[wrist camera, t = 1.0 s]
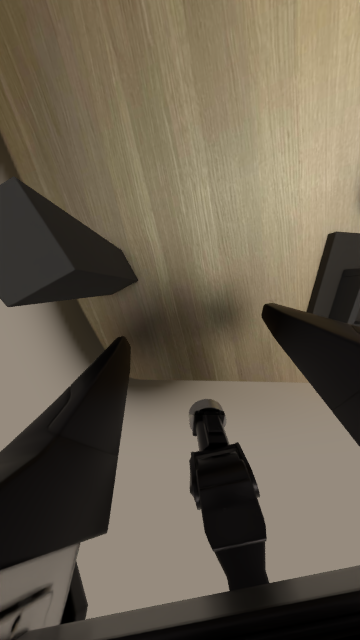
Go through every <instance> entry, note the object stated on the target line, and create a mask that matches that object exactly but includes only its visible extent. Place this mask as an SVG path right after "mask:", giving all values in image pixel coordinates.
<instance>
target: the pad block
mask: <svg viewBox="0 0 360 640" xmlns="http://www.w3.org/2000/svg"><path fill="white" fill-rule="evenodd" d="M136 281H138V279H137V277H136V276H135V274H134V272H133V270H132V268H131V267H130V265H129V263H128V261H127V259H126V257H125V256H124V254H123V252H122V250H120V249H119V248H117V247H116V246H114V245H113V244H112V243H110V242H109V241H107V240H106V239H104V238H103V237H101V236H100V235H98V234H97V233H96V232H94V231H93V230H91V229H90V228H88V227H87V226H85V225H84V224H82V223H81V222H80V221H78V220H77V219H75V218H74V217H72V216H71V215H69V214H68V213H66V212H65V211H64V210H62V209H61V208H59V207H58V206H56V205H55V204H53V203H52V202H51V201H49V200H48V199H46V198H45V197H43V196H42V195H40V194H39V193H37V192H36V191H35V190H33V189H32V188H30V187H29V186H27V185H26V184H24V183H23V182H21V181H20V180H19V179H17V178H16V177H12V178H10V179H9V180H7V181H6V182H4V183H2V184H1V185H0V299H1V300H2V301H3V302H4V304H5V305H6V306H7V307H13V306H21V305H30V304H38V303H45V302H53V301H62V300H70V299H78V298H86V297H94V296H102V295H110V294H114V293H115V292H117V291H119V290H121V289H123V288H125V287H127V286H129V285H131V284H132V283H134V282H136Z"/></svg>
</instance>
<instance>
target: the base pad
mask: <svg viewBox="0 0 360 640" xmlns="http://www.w3.org/2000/svg"><path fill="white" fill-rule="evenodd" d="M307 313H311V314H315V315H319V316H322V317H326V318H330V319H333V320H337V321H341V322H344V323H348V324H350V325H351V324H352V325H356V326H359V327H360V234H359V233H347V232H334V233H331V234H329V235H328V239H327V243H326V246H325V250H324V253H323V257H322V260H321V264H320V268H319V271H318V275H317V278H316V282H315V286H314V289H313V293H312V296H311V300H310V303H309V307H308V311H307Z"/></svg>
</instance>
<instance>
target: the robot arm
mask: <svg viewBox="0 0 360 640" xmlns="http://www.w3.org/2000/svg"><path fill="white" fill-rule="evenodd" d="M262 319H263V321H264V322H265V324H266V325H267V327H268V329H269V330H270V332H271V333H272V335H273V336H274V338H275V339H276V341H277V342H278V343H279V344H280V346H281V347H282V348H283V350H284V351H285V352H286V353H287V355H288V356H289V357H290V358H291V360H292V361H293V362H294V364H295V365H296V366H297V367H298V369H299V370H300V371H301V372H302V374H303V375H304V376H305V378H306V379H307V380H308V381H309V383H310V384H311V385H312V386H313V388H314V389H315V390H316V391H317V393H318V394H319V395H320V396H321V398H322V399H323V400H324V402H325V403H326V404H327V405H328V407H329V408H330V409H331V410H332V412H333V413H334V415H335V416H336V417H337V418H338V420H339V421H340V422H341V423H342V425H343V426H344V427H345V429H346V430H347V431H348V432H349V433H350V435H351V436H352V437H353V439H354V440H355V441H356V443H357V444H358V445H359V446H360V327H359V326H356V325H352V324H351V325H350V324H348V323H344V322H341V321H337V320H333V319H330V318H326V317H322V316H319V315H315V314H311V313H307V312H304V311H300V310H296V309H293V308H289V307H285V306H282V305H278V304H274V303H268V304H265V305H264V306H263V310H262ZM130 354H131V347H130V344H129V342H128V341H127V339H126V337H125V336H121V337H118V338H116V339H115V340H114V341H113V342H112V344H111V345H110V346H109V347H108V348H107V349H106V350H105V351H104V352H103V353H102V354H101V355H100V356H99V357H98V358H97V359H96V360H95V361H94V362H93V363H92V364H91V365H90V366H89V367H88V368H87V369H86V370H85V371H84V372H83V373H82V374H81V375H80V376H79V377H78V379H76V380H75V381H74V382H73V384H71V387H68V388H67V389H66V391H65V392H64V393H63V394H62V395H61V396H60V397H59V398H58V399H57V400H56V401H55V402H54V403H53V404H52V405H50V406H49V407H48V408H47V409H46V410H45V411H44V412H43V413H42V414H41V415H40V416H39V417H38V418H37V419H36V420H34V421H33V422H32V423H31V424H30V425H29V426H28V427H27V428H26V429H25V430H24V431H23V432H21V433H20V434H19V435H18V436H17V437H16V438H15V439H14V440H13V441H12V442H11V443H10V444H9V445H7V446H6V447H5V448H4V449H3V450H2V451H1V452H0V640H360V566H355V567H349V568H344V569H339V570H334V571H329V572H324V573H319V574H314V575H309V576H304V577H299V578H294V579H289V580H283V581H278V582H273V583H269V581H268V577H267V574H266V570H265V541H266V526H265V522H264V517H263V515H262V512H261V508H260V505H259V503H258V499H257V498H258V497H260V494H259V490H258V487H257V483H256V480H255V477H254V475H253V472H252V470H251V467H250V465H249V463H248V461H247V459H246V457H245V455H244V453H243V451H242V449H241V447H240V445H239V443H238V442H237V443H235V444H231V445H230V444H229V442H228V439H227V436H226V433H225V430H224V427H223V423H224V417H225V413H224V411H195V412H194V422H193V436H197V439H198V446H199V451H198V452H191V459H190V461H189V462H190V493H191V494H192V496H193V497H194V500H195V502H196V506H197V509H198V510H200V509H201V510H202V517H203V523H204V530H205V533H206V536H207V538H208V541H209V543H210V545H211V548H212V550H213V551H214V552H215V554H216V556H217V558H218V560H219V562H220V564H221V566H222V568H223V570H224V572H225V574H226V576H227V580H228V585H229V590H230V591H228V592H223V593H218V594H213V595H208V596H203V597H198V598H192V599H187V600H182V601H177V602H172V603H167V604H162V605H157V606H152V607H147V608H142V609H137V610H132V611H127V612H122V613H116V614H111V615H107V616H101V617H96V618H91V619H86V620H85V617H86V612H87V607H88V604H87V600H86V596H85V593H84V589H83V585H82V581H81V577H80V573H79V570H78V566H77V562H76V559H77V554H78V551H79V546H80V542H83V541H86V540H88V539H91V538H94V537H97V536H100V535H103V534H106V533H107V530H108V524H109V518H110V511H111V503H112V497H113V489H114V482H115V475H116V468H117V460H118V453H119V446H120V438H121V431H122V423H123V417H124V410H125V403H126V395H127V388H128V381H129V374H130Z"/></svg>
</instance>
